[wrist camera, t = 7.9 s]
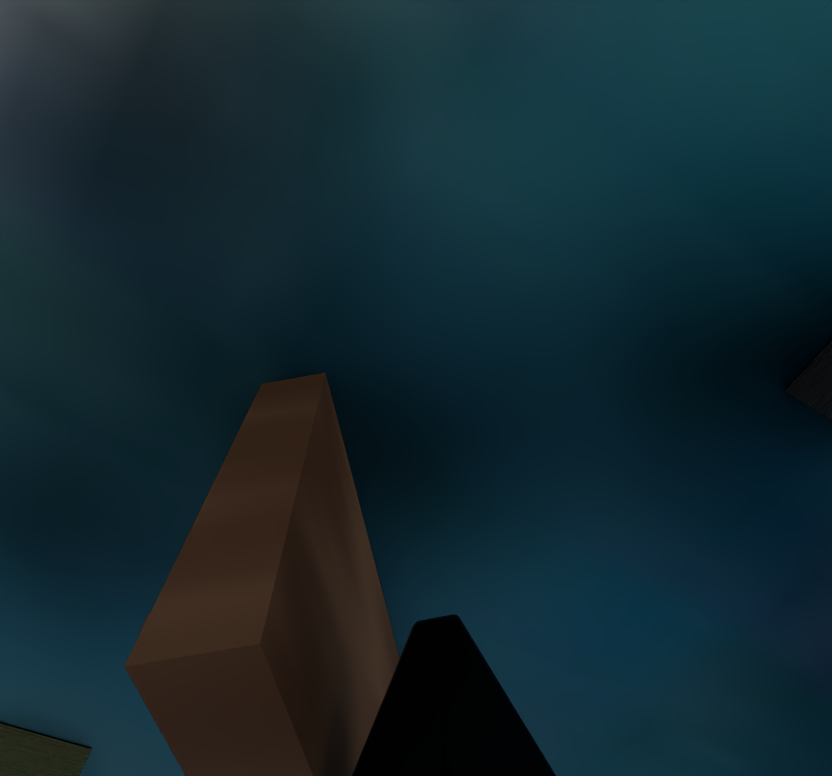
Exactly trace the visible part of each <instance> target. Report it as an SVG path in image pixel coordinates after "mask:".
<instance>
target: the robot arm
mask: <svg viewBox="0 0 832 776" xmlns="http://www.w3.org/2000/svg"><path fill="white" fill-rule="evenodd" d="M352 776H556V775H555V773H554V772H553V770H552V768H551V767H550V765H549V764H548V762H547V760H546V759H545V757H544V755H543V754H542V752H541V750H540V749H539V747H538V745H537V744H536V742H535V741H534V739H533V737H532V736H531V734H530V732H529V731H528V729H527V727H526V726H525V724H524V722H523V721H522V719H521V718H520V716H519V714H518V713H517V711H516V709H515V708H514V706H513V704H512V703H511V701H510V700H509V698H508V696H507V695H506V693H505V691H504V690H503V688H502V686H501V685H500V683H499V681H498V680H497V678H496V677H495V675H494V673H493V672H492V670H491V668H490V667H489V665H488V663H487V662H486V660H485V659H484V657H483V655H482V654H481V652H480V650H479V649H478V647H477V645H476V644H475V642H474V640H473V639H472V637H471V636H470V634H469V632H468V631H467V629H466V627H465V626H464V624H463V622H462V621H461V619H460V618H459V617H458V616H457V615H455V614H453V615H447V616H442V617H437V618H431V619H426V620H421V621H417V622H416V623H415V624H414V625H413V627H412V630H411V632H410V634H409V637H408V639H407V642H406V644H405V647H404V649H403V652H402V654H401V657H400V659H399V661H398V664H397V666H396V669H395V671H394V674H393V676H392V679H391V681H390V683H389V686H388V688H387V691H386V693H385V696H384V698H383V701H382V703H381V705H380V708H379V710H378V713H377V715H376V718H375V720H374V723H373V725H372V728H371V730H370V732H369V735H368V737H367V740H366V742H365V745H364V747H363V750H362V752H361V754H360V757H359V759H358V762H357V764H356V767H355V769H354V772H353V774H352Z"/></svg>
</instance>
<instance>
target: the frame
mask: <svg viewBox="0 0 832 776" xmlns="http://www.w3.org/2000/svg"><path fill="white" fill-rule="evenodd" d="M785 391H786V392H788V393H789V394H791V395H792V396H794V397H795V398H797V399H798V400H800V401H801V402H803V403H805V404H806V405H808V406H809V407H811V408H812V409H814V410H815V411H817V412H818V413H820V414H822V415H823V416H825V417H826V418H828V419H829V420H831V421H832V340H831V342H830V343H829V344H828V345H827V346H826V347H825V348H824V349H823V350H822V351H821V352H820V353H819V355H818V356H817V357H816V358H815V359H814V360H813V361H812V362H811V363H810V364H809V365H808V366H807V368H806V369H805V370H804V371H803V372H802V373H801V374H800V375H799V376H798V377H797V378H796V379H795V381H794V382H793V383H792V384H791V385H790V386H789V387H788V388H787V389H786V390H785ZM90 751H91V749H89V748H85V747H82V746H78V745H75V744H71V743H67V742H64V741H60V740H57V739H53V738H50V737H46V736H43V735H39V734H36V733H32V732H28V731H25V730H21V729H18V728H14V727H11V726H7V725H4V724H0V776H79V774H80V772H81V770H82V768H83V766H84V764H85V762H86V760H87V758H88V755H89V753H90Z"/></svg>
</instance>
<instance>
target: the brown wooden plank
mask: <svg viewBox="0 0 832 776" xmlns="http://www.w3.org/2000/svg"><path fill="white" fill-rule="evenodd" d="M399 659H400V658H399V654H398V650H397V646H396V642H395V639H394V635H393V631H392V627H391V623H390V619H389V616H388V612H387V608H386V604H385V600H384V596H383V592H382V589H381V585H380V581H379V577H378V573H377V569H376V565H375V562H374V558H373V554H372V550H371V546H370V542H369V538H368V535H367V531H366V527H365V523H364V519H363V515H362V511H361V508H360V504H359V500H358V496H357V492H356V488H355V484H354V481H353V477H352V473H351V469H350V465H349V461H348V458H347V454H346V450H345V446H344V442H343V438H342V434H341V431H340V427H339V423H338V419H337V415H336V411H335V407H334V404H333V400H332V396H331V392H330V388H329V384H328V380H327V377H326V373H320V374H314V375H309V376H303V377H298V378H292V379H286V380H281V381H275V382H270V383H264V384H261V386H260V388H259V390H258V392H257V394H256V396H255V398H254V400H253V402H252V404H251V406H250V409H249V411H248V413H247V415H246V417H245V419H244V421H243V423H242V425H241V427H240V429H239V431H238V433H237V435H236V437H235V439H234V442H233V444H232V446H231V448H230V450H229V452H228V454H227V456H226V458H225V460H224V462H223V464H222V466H221V468H220V470H219V472H218V475H217V477H216V479H215V481H214V483H213V485H212V487H211V489H210V491H209V493H208V495H207V497H206V499H205V501H204V503H203V505H202V508H201V510H200V512H199V514H198V516H197V518H196V520H195V522H194V524H193V526H192V528H191V530H190V532H189V534H188V536H187V538H186V541H185V543H184V545H183V547H182V549H181V551H180V553H179V555H178V557H177V559H176V561H175V563H174V565H173V567H172V569H171V571H170V574H169V576H168V578H167V580H166V582H165V584H164V586H163V588H162V590H161V592H160V594H159V596H158V598H157V600H156V602H155V604H154V607H153V609H152V611H150V612H149V614H148V615H147V616H146V618H145V620H144V622H143V624H142V627H141V630H140V633H139V637H138V640H137V642H136V644H135V646H134V648H133V650H132V652H131V654H130V656H129V658H128V660H127V662H126V664H125V666H124V667H125V669H126V670H127V672H128V674H129V676H130V677H131V679H132V681H133V683H134V685H135V686H136V688H137V690H138V692H139V694H140V695H141V697H142V699H143V701H144V702H145V704H146V706H147V708H148V710H149V711H150V713H151V715H152V717H153V719H154V720H155V722H156V724H157V726H158V727H159V729H160V731H161V733H162V735H163V736H164V738H165V740H166V742H167V743H168V745H169V747H170V749H171V751H172V752H173V754H174V756H175V758H176V760H177V761H178V763H179V765H180V767H181V768H182V770H183V772H184V774H185V776H352V774H353V772H354V769H355V767H356V764H357V762H358V759H359V757H360V754H361V752H362V750H363V747H364V745H365V742H366V740H367V737H368V735H369V732H370V730H371V728H372V725H373V723H374V720H375V718H376V715H377V713H378V710H379V708H380V705H381V703H382V701H383V698H384V696H385V693H386V691H387V688H388V686H389V683H390V681H391V679H392V676H393V674H394V671H395V669H396V666H397V664H398V661H399Z"/></svg>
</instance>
